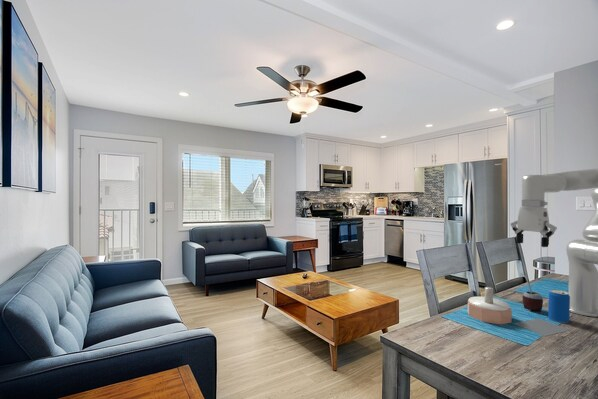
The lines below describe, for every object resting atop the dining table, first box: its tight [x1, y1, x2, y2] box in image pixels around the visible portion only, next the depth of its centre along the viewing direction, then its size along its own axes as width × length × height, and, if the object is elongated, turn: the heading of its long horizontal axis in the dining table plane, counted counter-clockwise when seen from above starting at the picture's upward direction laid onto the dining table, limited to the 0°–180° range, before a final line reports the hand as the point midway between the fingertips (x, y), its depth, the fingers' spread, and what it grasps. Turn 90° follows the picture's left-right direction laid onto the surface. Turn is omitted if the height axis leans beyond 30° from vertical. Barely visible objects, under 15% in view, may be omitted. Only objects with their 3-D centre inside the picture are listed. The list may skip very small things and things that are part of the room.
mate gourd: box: [521, 274, 544, 313], centre depth 132 cm, size 8×8×15 cm
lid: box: [468, 286, 511, 311], centre depth 124 cm, size 14×14×7 cm
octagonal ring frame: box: [467, 298, 513, 325], centre depth 124 cm, size 15×15×6 cm
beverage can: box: [547, 289, 570, 324], centre depth 121 cm, size 6×6×12 cm
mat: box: [513, 317, 571, 337], centre depth 115 cm, size 15×11×1 cm
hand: (531, 244), depth 125 cm, fingers open, 9 cm apart
